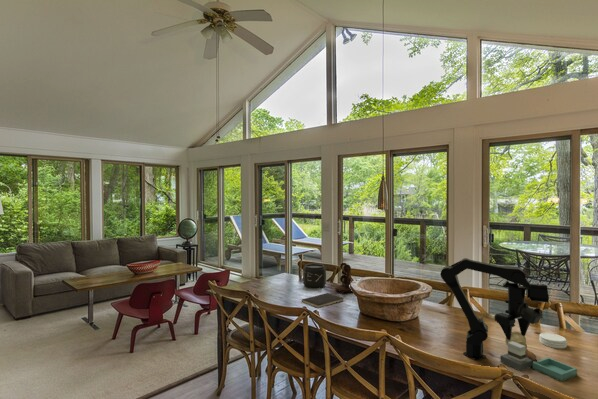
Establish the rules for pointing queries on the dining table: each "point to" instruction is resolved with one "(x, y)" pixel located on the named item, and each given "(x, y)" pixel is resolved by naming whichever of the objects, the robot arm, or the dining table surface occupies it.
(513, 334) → the hand bell
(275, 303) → the dining table surface
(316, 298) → the hardcover book
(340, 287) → the brown carved figurine
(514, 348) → the block
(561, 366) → the parts tray
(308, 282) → the lettered dark canister
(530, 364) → the socket block
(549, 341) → the coaster
